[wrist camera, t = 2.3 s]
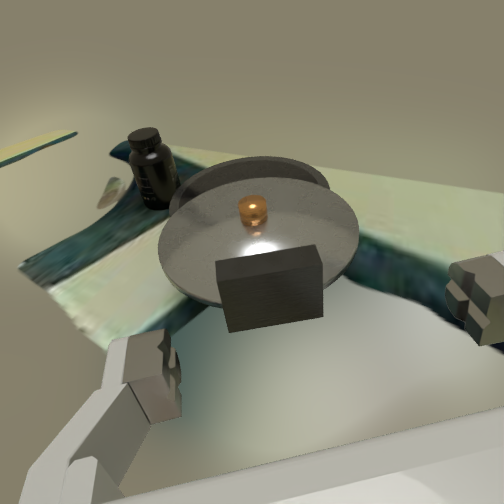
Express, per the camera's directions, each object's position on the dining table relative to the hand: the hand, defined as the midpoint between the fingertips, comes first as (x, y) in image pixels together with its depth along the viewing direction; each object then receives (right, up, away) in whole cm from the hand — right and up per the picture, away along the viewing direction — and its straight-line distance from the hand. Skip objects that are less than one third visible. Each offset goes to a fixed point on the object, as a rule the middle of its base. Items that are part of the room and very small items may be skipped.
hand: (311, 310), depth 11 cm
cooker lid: (-1, +3, +31) cm, 31 cm away
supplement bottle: (-17, +10, +58) cm, 61 cm away
